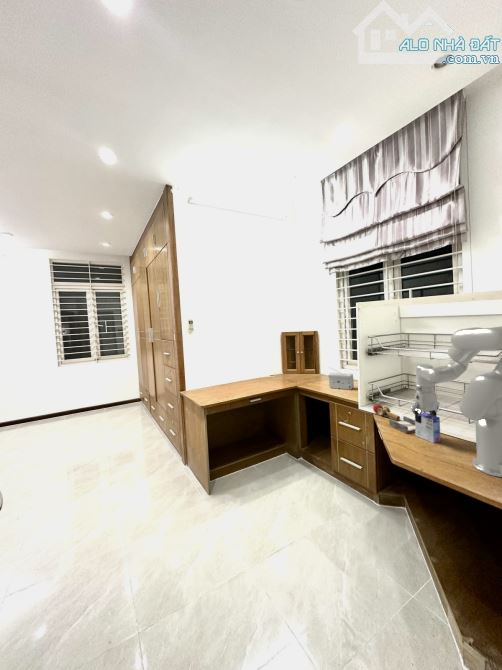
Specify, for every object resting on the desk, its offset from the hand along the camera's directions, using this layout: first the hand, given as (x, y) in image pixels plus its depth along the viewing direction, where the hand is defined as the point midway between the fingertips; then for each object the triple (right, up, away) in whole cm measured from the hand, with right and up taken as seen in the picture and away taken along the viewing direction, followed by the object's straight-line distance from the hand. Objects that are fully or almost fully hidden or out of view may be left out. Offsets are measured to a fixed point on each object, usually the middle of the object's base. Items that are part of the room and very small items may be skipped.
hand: (425, 420), depth 134 cm
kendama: (-4, -8, +32) cm, 33 cm away
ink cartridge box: (+1, -9, 0) cm, 10 cm away
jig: (-2, -9, +13) cm, 16 cm away
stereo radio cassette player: (-9, -4, +100) cm, 101 cm away
